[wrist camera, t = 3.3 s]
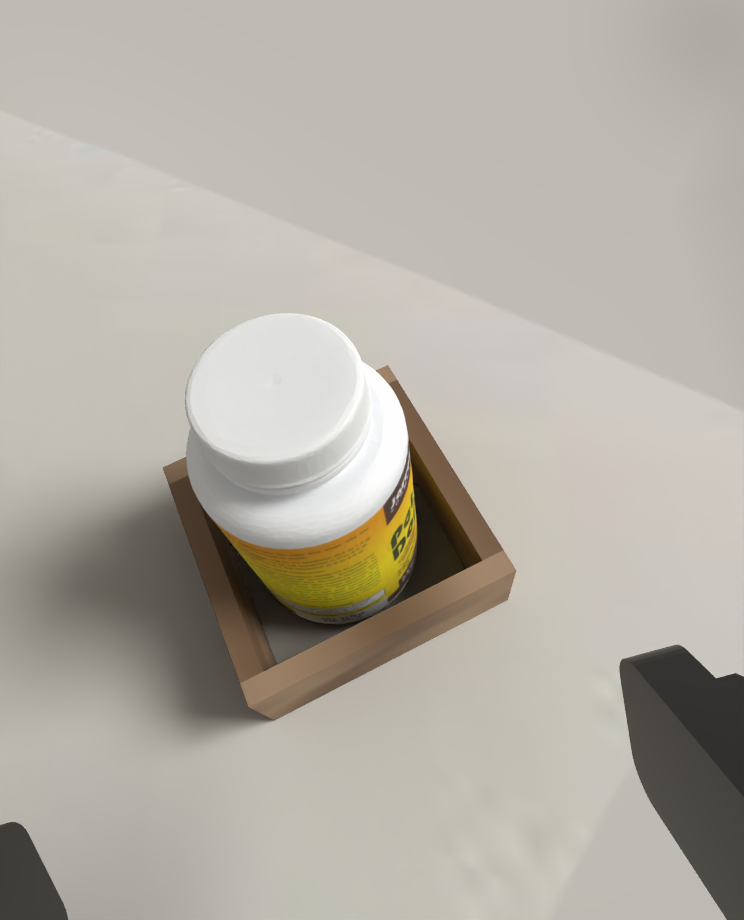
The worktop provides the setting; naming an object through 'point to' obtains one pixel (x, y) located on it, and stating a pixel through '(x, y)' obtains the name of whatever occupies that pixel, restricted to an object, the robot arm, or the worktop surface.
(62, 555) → the worktop surface
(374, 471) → the supplement bottle
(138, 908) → the worktop surface
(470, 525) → the wooden box
